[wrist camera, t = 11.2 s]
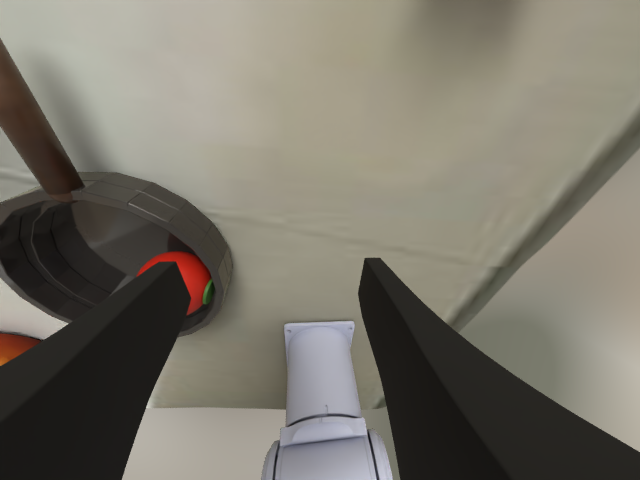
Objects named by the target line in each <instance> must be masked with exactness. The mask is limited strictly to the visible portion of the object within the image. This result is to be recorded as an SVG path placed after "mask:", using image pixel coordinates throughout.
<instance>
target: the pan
mask: <svg viewBox="0 0 640 480" xmlns="http://www.w3.org/2000/svg"><path fill="white" fill-rule="evenodd" d="M77 173H78V174H79V176H80V178H81V180H82V181H83V183H84V185H83V186H82V187H80V188H78V189H75V190H72V191H71V194H72V196H73V199H72V201H78V202H76V203H61V202H58V201H55V200H54V199H52V198H51V197H49V196H48V195H47V193H46V192H45V191H44V189H43V188H42V186H41V185H40V186H38V187H35V188H33V189H31V190H28V191H26V192H24V193H21V194H19V195H17V196H14V197H12V198H10V199H8V200H5V201H3V202H1V203H0V278H1V279H2V280H3V281H4V282H5V283H6V284H7V285H8V286H9V287H10V288H12V289H13V290H14V291H15V292H16V293H17V294H18V295H19V296H20V297H22V298H23V299H24V300H26V301H28V302H29V303H31V304H32V305H34V306H36V307H37V308H39V309H40V310H42V311H44V312H45V313H47V314H48V315H51V316H52V317H55V318H57V319H59V320H62V321H64V322H66V323H71V322H72V321H74V320H75V319H77V318H78V317H80V316H81V315H83V314H84V313H86V312H87V311H89V310H90V309H92V308H93V307H95V306H96V305H98V304H99V303H101V302H102V301H103V300H105V299H106V298H108V297H109V296H111V295H112V294H113V293H115V292H116V291H118V290H119V289H120V288H122V287H123V286H125V285H126V284H127V283H129V282H130V281H132V280H133V279H134V278H136V276H137V274H138V272H139V271H140V269H141V268H142V267H143V266H144V265H145V264H146V263H147V262H148V261H149V260H151V259H152V258H154V257H155V256H157V255H160V254H163V253H166V252H171V251H183V252H188V253H191V254H193V255H196V256H197V257H199V258H200V260H201V261H202V262H203V263H204V265H205V266H206V267H207V268H208V270H209V271H210V274H211V278H212V281H213V284H214V287H215V291H214V294H213V297H212V299H211V301H210V302H209V303H208V304H207V305H206V304H203V305H202V306H201V307H200V308H198V309H197V310H196V311H194V312H193V313H191V314H189V315H186V318H185V321H184V324H183V326H182V328H181V330H180V333H179V335H178V337H181V336H185V335H189V334H192V333H194V332H195V331H197V330H199V329H201V328H203V327H204V326H206V325H208V324H209V323H210V322H211V321H212V320H213V318H214V317H215V316H216V315H217V314H218V312H219V311H220V310H221V307H222V304H223V301H224V298H225V295H226V292H227V289H228V286H229V283H230V278H231V273H232V268H233V265H232V261H231V257H230V253H229V248H228V246H227V243H226V242H225V240H224V239H223V237H222V236H221V234H220V233H219V231H218V230H217V228H216V227H215V225H214V224H213V223H212V222H211V221H210V220H209V219H208V218H207V217H206V216H204V215H203V214H202V213H201V212H200V211H199V210H198V209H196V208H195V207H194V206H193V205H192V204H191V203H190V202H188V201H187V200H186V199H184V198H182V197H180V196H178V195H176V194H174V193H172V192H170V191H169V190H167V189H165V188H163V187H161V186H159V185H157V184H155V183H153V182H149V181H146V180H142V179H138V178H134V177H131V176H127V175H123V174H120V173H114V172H77Z"/></svg>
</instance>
